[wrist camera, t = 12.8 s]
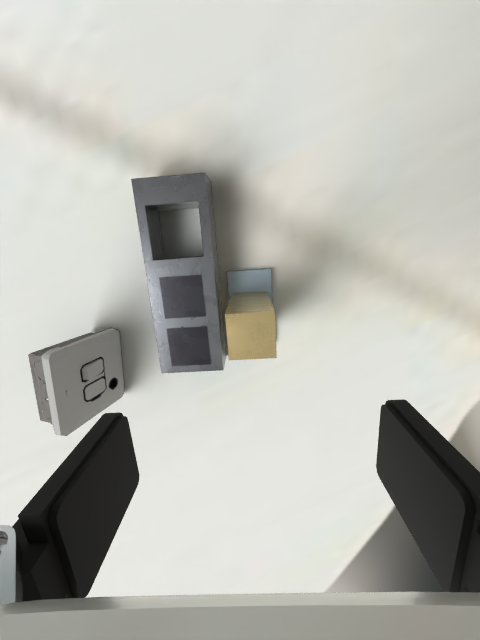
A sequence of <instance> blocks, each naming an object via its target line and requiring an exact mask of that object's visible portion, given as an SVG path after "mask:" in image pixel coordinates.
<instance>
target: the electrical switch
mask: <svg viewBox="0 0 480 640" xmlns="http://www.w3.org/2000/svg"><path fill="white" fill-rule="evenodd" d="M31 354H33V355H31ZM28 356H29V361H30V367H31V372H32V377H33V383H34V388H35V394H36V399H37V405H38V410H39V415H40V420H41V421H45V422H49V423H51V424H52V425H53V429H54V434H56V435H62V436H67V435H68V434H70V433H71V432H73V431H74V430H76V429H77V428H78V427H80V426H81V425H83V424H84V423H86V422H87V421H88V420H90V419H91V418H93V417H94V416H96V415H97V414H98V413H100V412H101V411H103V410H104V409H106V408H107V407H108V406H110V405H111V404H113V403H114V402H116V401H117V400H118V399H120V398H121V397H122V396H123V394H124V391H125V390H124V378H123V367H122V356H121V344H120V333H119V331H118V330H116V329H112V328H110V329H106V330H104V331H102V332H99V333H88V334H85V335H82V336H79V337H76V338H73V339H71V340H68V341H65V342H62V343H59V344H56V345H53V346H50V347H47V348H44V349H42V350H39V351H36V352H33V353H30V354H29V355H28ZM41 379H42V380H41ZM47 398H48V399H49V400H46V399H47Z"/></svg>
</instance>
